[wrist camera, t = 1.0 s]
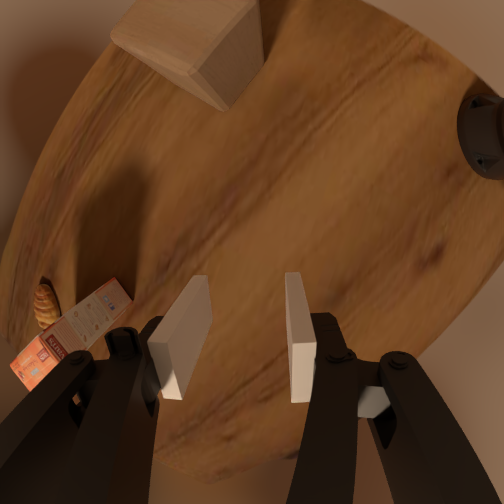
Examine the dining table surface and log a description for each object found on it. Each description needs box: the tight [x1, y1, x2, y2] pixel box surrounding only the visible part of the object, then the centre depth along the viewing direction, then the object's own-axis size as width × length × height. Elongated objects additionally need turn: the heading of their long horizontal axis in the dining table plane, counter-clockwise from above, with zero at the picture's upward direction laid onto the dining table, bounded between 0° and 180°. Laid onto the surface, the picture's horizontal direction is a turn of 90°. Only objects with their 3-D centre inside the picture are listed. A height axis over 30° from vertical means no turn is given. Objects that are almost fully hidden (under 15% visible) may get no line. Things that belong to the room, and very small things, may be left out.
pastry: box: [34, 284, 60, 329], centre depth 47 cm, size 9×7×4 cm
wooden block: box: [110, 0, 264, 111], centre depth 26 cm, size 10×10×20 cm
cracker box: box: [10, 277, 133, 391], centre depth 37 cm, size 14×6×21 cm, turn 124°
